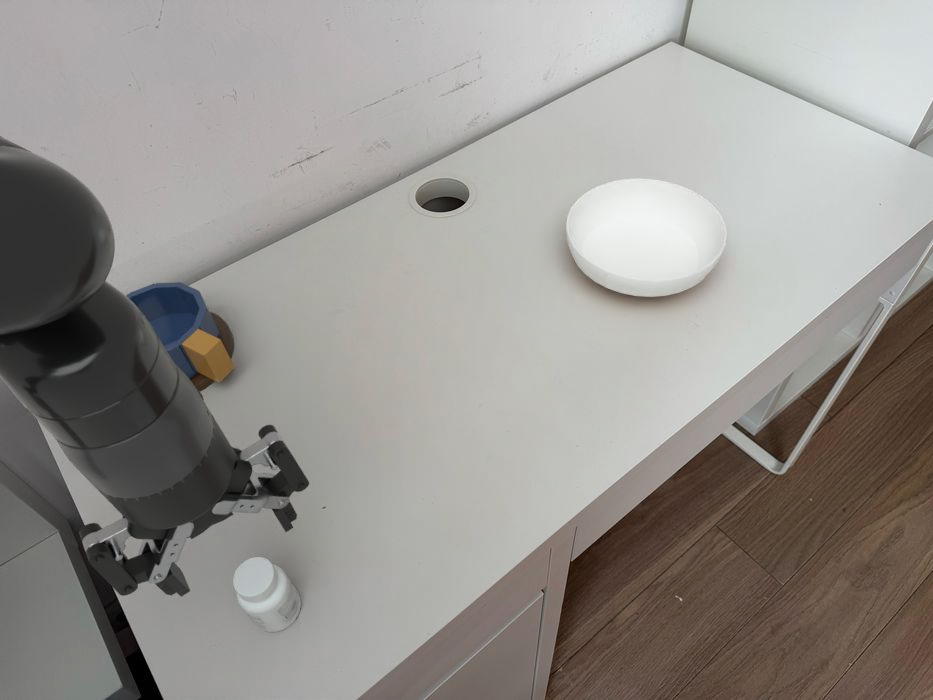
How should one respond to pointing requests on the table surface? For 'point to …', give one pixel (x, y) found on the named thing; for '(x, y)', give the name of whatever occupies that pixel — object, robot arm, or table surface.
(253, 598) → the pill bottle
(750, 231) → the table surface
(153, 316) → the serving bowl
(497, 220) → the table surface
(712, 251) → the bowl
